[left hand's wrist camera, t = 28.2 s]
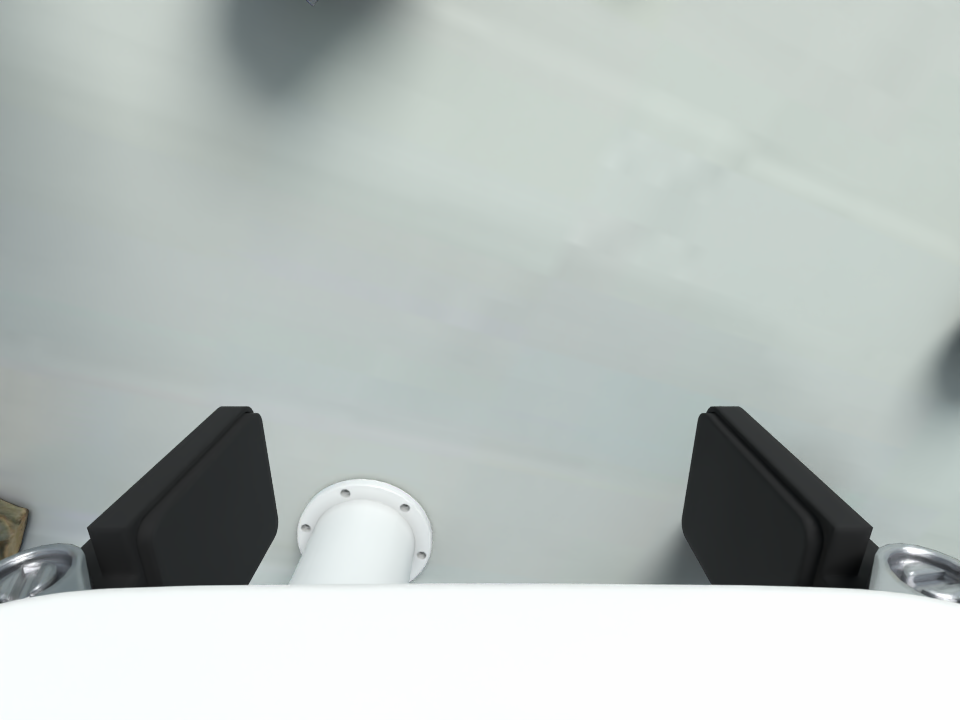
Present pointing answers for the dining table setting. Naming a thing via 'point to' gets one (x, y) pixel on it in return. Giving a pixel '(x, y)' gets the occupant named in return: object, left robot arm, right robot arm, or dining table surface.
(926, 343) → the dining table surface
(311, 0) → the toy
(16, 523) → the statue
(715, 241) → the dining table surface
